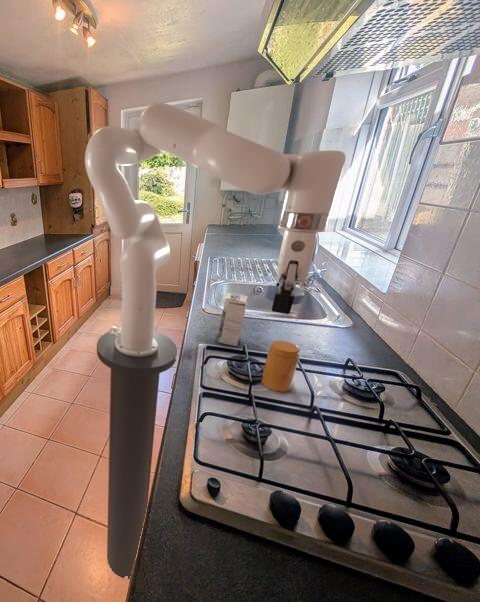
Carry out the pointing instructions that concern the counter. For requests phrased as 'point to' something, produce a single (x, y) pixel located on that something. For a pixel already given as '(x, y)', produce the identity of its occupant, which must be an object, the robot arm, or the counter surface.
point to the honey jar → (280, 366)
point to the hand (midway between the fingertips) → (280, 305)
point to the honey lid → (274, 289)
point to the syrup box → (232, 319)
